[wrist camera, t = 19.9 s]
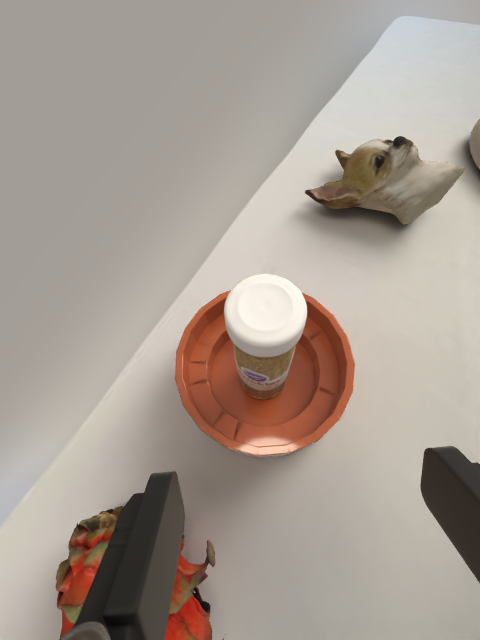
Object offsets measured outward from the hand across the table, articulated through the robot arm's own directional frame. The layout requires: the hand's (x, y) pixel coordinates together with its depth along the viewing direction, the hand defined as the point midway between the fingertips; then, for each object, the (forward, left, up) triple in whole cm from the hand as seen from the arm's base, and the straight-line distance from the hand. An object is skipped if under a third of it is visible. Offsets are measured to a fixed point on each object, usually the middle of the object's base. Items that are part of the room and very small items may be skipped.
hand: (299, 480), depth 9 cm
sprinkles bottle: (-5, -7, -16) cm, 18 cm away
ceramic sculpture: (-31, -15, -17) cm, 38 cm away
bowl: (-5, -7, -17) cm, 19 cm away
